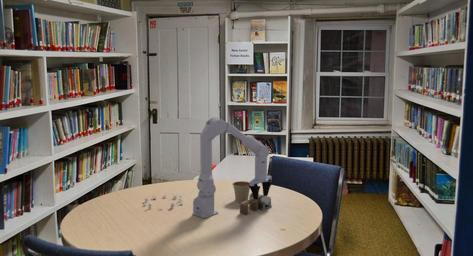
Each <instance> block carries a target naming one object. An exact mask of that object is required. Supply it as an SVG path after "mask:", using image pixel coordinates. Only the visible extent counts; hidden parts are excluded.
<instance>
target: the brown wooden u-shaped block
mask: <svg viewBox="0 0 473 256" xmlns="http://www.w3.org/2000/svg"><path fill="white" fill-rule="evenodd" d="M249 205H250V207H249ZM249 210H250V211H254V212H257V211H259V209H258V200H256V199H253V198H252V199H249V198H248V200H247V201H244V202H239V214H240V215H243V216H248V215H249Z"/></svg>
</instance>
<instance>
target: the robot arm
mask: <svg viewBox="0 0 473 256" xmlns="http://www.w3.org/2000/svg"><path fill="white" fill-rule="evenodd" d="M224 133H225V134H230V135H231V136H234V137H235V138H237V139H238V140H240V141H241V144H242V146H243V147H244V148H246V149H248V150H249V151H250V152H251V153H253V154H254V178H253V179H252V180H250V181H249V182H250V184H249V187H250V191H251V193H252V195H253V199H256V200H258V194H259V195H260V193H259V192H260V188H262V195H264V196H268V197H269V192H270V189H271V186H272V185H273V180H272V175H268V156H269V155H270V151H269V148H268V146H266V145H264V144H263V142H261V141H260V140H258V139H256V138H255V136H254V135H252V134H251V135H250V134H247V135H246V134H245V133H243V132H242V131H240V130H239V129H238V128H236V127H235V126H234V125H233V124H231V123H229V122H227V121H225V120H224V119H220V118H218V117H215V116H214V117H213V116H212V117H211V118H209V120H207V121H206V122H205V126H204V128H203V129H202V131H201V134H200V136H199V139H200V140H199V141H200V143H199V145H200V147H199V149H200V155H199V156H200V174H199V176H198V181H197V184H196V187H197V189H198V195H197V196H196V197H195V198H194V199H193V203H192V206H193V207H192V208H193V209H192V210H193V212H192V213H191V214H192V215H193V216H196V217H199V218H202V219H205V218H209V217H211V216H214V215H216V214H219V211H217V210H215V194H216V188H217V187H216V185H215V183H214V182H215V181H214V177H213V147H212V146H213V140H214V139H215V138H216V137H218V136H221V135H222V134H224ZM259 184H261V186H260V185H259Z"/></svg>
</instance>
